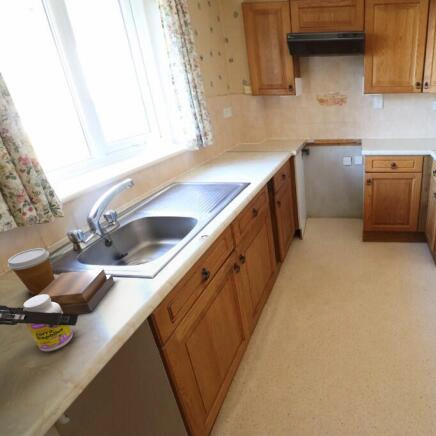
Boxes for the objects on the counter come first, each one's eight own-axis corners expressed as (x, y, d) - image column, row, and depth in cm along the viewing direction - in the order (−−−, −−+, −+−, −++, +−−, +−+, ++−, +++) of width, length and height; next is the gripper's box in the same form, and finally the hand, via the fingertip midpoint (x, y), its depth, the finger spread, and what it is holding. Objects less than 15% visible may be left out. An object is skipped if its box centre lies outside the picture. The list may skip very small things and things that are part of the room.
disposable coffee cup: (18, 301, 95) (-1, 267, 90) (30, 284, 103) (13, 252, 98) (57, 292, 98) (41, 259, 93) (66, 276, 106) (51, 244, 101)
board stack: (36, 318, 88) (27, 301, 85) (67, 287, 100) (59, 271, 98) (91, 312, 89) (83, 294, 87) (114, 282, 102) (108, 266, 99)
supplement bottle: (39, 357, 75) (14, 314, 70) (41, 340, 80) (18, 299, 75) (73, 343, 79) (53, 302, 74) (73, 328, 84) (54, 288, 78)
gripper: (6, 294, 59) (102, 305, 81) (-83, 289, 62) (33, 301, 83) (-11, 338, 57) (93, 337, 78) (-103, 330, 59) (22, 332, 81)
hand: (62, 318), depth 81 cm, fingers closed on supplement bottle, 7 cm apart
